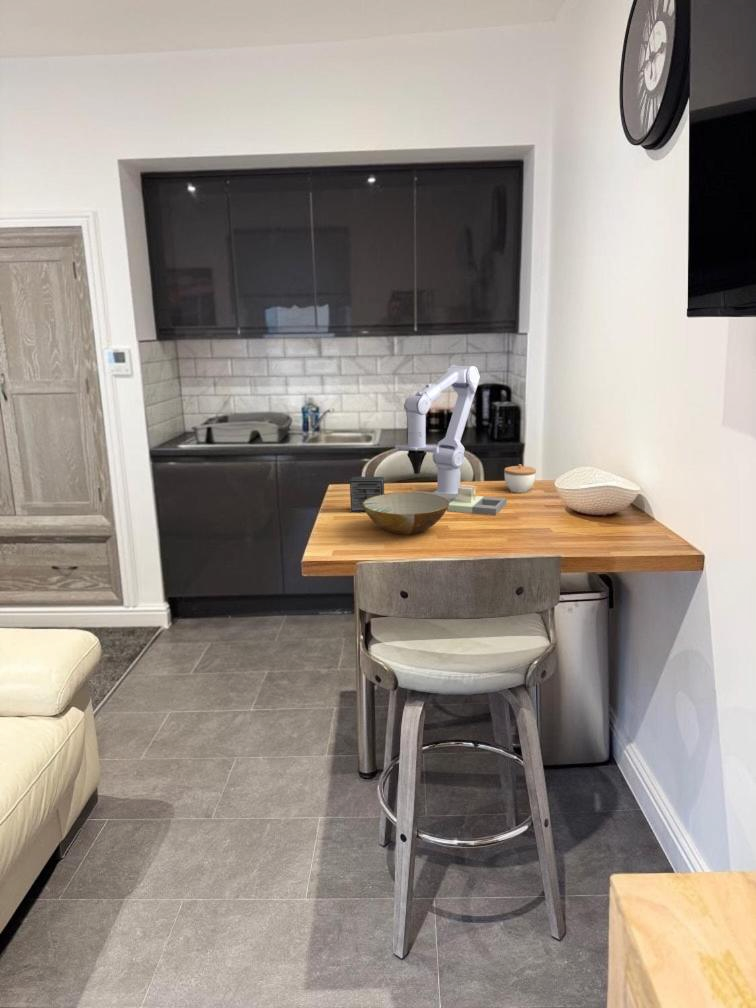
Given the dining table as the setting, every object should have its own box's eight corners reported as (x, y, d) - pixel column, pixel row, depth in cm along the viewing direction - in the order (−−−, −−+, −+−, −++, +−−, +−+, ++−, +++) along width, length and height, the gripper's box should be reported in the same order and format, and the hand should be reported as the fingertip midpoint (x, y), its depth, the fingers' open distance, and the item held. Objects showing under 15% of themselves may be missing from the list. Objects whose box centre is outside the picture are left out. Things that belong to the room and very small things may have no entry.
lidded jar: (497, 489, 256) (498, 463, 253) (522, 485, 260) (523, 460, 258) (515, 495, 246) (516, 468, 244) (541, 492, 251) (542, 465, 248)
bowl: (459, 538, 200) (459, 511, 198) (369, 545, 196) (369, 516, 194) (437, 515, 224) (437, 490, 222) (357, 520, 220) (356, 494, 218)
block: (461, 498, 236) (461, 485, 235) (475, 499, 234) (475, 486, 233) (457, 501, 232) (457, 488, 231) (471, 502, 230) (471, 489, 229)
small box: (385, 507, 234) (384, 475, 232) (383, 512, 228) (382, 480, 225) (352, 507, 235) (352, 475, 233) (350, 512, 229) (349, 480, 227)
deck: (413, 496, 247) (413, 490, 247) (506, 504, 235) (506, 498, 235) (399, 506, 235) (398, 500, 234) (495, 515, 223) (496, 508, 222)
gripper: (391, 433, 235) (392, 474, 239) (434, 435, 230) (434, 477, 233) (399, 430, 242) (399, 470, 245) (440, 432, 236) (440, 472, 239)
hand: (417, 473), depth 239 cm, fingers closed
